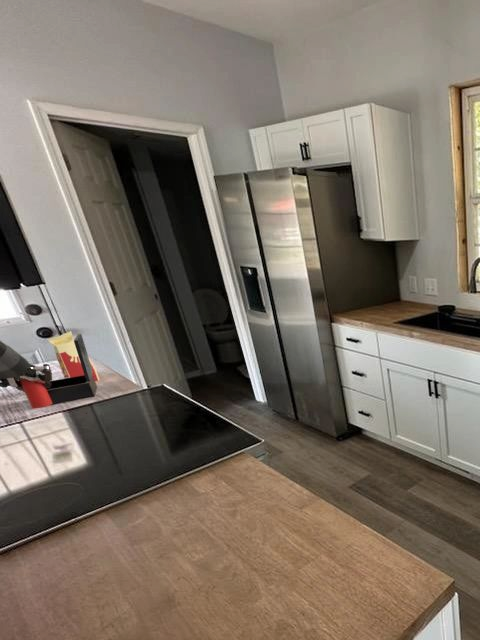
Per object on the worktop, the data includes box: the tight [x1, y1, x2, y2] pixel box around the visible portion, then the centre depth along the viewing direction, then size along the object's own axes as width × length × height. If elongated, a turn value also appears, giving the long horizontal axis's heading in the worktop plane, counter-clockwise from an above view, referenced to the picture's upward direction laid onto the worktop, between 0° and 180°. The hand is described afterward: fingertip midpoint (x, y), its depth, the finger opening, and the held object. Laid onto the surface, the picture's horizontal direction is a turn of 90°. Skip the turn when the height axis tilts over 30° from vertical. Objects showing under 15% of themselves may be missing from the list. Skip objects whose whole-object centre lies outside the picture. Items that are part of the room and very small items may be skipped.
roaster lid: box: [74, 333, 93, 382], centre depth 142 cm, size 14×14×1 cm
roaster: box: [46, 375, 98, 406], centre depth 141 cm, size 14×14×6 cm
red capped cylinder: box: [19, 379, 53, 409], centre depth 126 cm, size 4×4×13 cm
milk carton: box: [46, 330, 100, 382], centre depth 154 cm, size 9×9×20 cm
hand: (37, 387), depth 128 cm, fingers closed on red capped cylinder, 4 cm apart
